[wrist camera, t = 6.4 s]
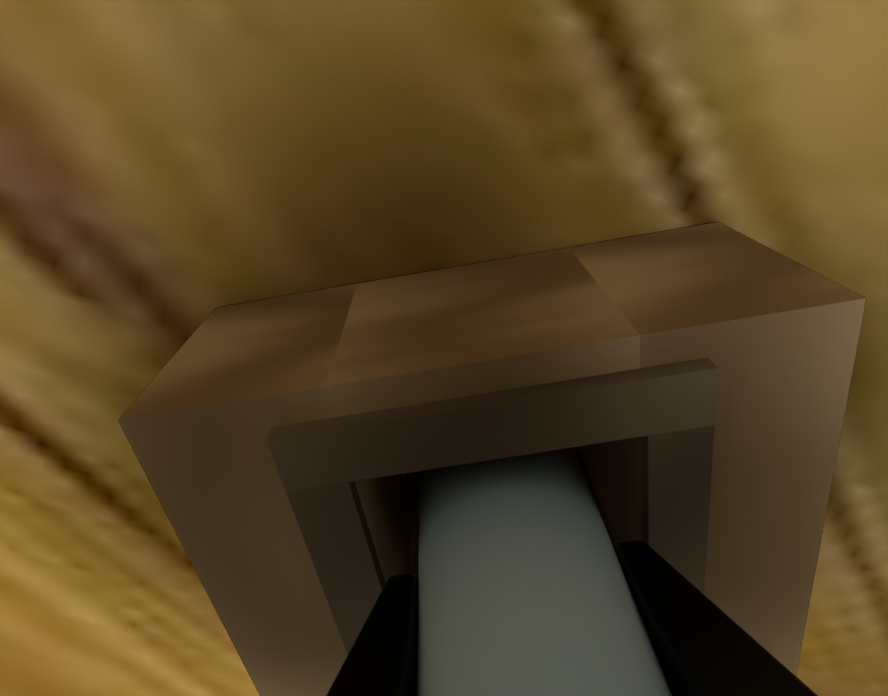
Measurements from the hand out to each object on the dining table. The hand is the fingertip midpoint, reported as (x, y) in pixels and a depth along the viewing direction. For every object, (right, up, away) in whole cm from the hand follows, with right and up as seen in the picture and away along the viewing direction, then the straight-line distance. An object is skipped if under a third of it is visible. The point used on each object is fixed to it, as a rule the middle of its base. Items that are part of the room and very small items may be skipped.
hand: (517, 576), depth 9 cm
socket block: (0, -1, +6) cm, 6 cm away
